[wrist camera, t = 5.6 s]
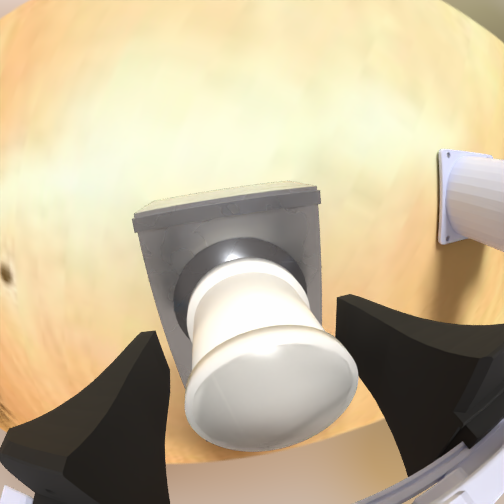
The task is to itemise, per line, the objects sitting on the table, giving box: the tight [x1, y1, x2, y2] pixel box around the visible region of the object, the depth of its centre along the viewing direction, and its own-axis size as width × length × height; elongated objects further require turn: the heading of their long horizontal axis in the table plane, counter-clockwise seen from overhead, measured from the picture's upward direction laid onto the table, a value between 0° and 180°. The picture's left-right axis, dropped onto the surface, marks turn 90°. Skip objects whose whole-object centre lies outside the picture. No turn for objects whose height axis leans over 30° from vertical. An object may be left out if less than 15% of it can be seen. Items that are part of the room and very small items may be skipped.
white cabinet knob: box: [185, 257, 358, 452], centre depth 10 cm, size 6×6×6 cm
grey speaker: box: [132, 181, 322, 441], centre depth 16 cm, size 8×16×5 cm, turn 7°
